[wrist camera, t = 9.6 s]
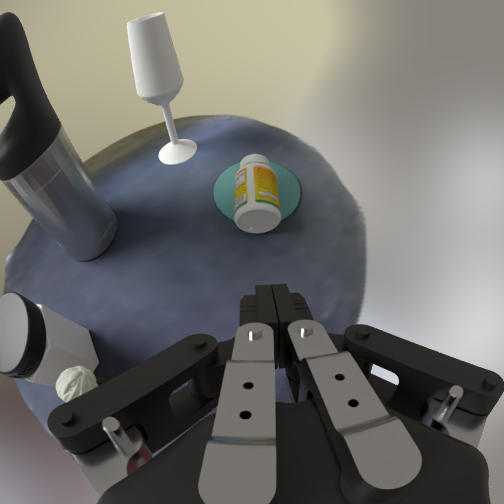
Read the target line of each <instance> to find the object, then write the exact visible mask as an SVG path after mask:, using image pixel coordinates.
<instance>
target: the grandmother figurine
mask: <svg viewBox="0 0 504 504" xmlns="http://www.w3.org/2000/svg"><path fill="white" fill-rule="evenodd" d="M109 380H111V379H107V378H104V377H99V376H95V375H94V374H93V372H92V371H91V370H89V369H87V368H85V367H83V366H76V367H73V368H68V369H66V370H64V371H63V372H62V373H61V375H60V376H59V378H58V380H57V382H56V390H57V393H58V396H59V397H60V398H61V399H62V400H63V401H65V402H68V401H70V400H72V399H74V398H76V397H78V396H80V395H82V394H84V393H86V392H88V391H90V390H92V389H94V388H96V387H98V386H99V385H101V384H103V383H105V382H107V381H109Z"/></svg>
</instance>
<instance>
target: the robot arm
mask: <svg viewBox="0 0 504 504" xmlns="http://www.w3.org/2000/svg"><path fill="white" fill-rule="evenodd" d="M10 96H13V97H14V98H15V102H16V104H15V108H14V111H13V113H12V115H11V117H10V119H9V121H8V123H7V125H6V127H5V128H4V130H3V131H2V133H1V134H0V180H1V181H2V183H3V184H4V185H5V186H6V188H7V189H8V190H9V191H10V192H11V194H12V195H13V196H14V197H15V198H16V199H17V201H18V202H19V203H20V204H21V205H22V206H23V207H24V209H25V210H26V211H27V212H28V213H29V214H30V215H31V216H32V217H33V218H34V220H35V221H36V222H37V223H38V224H39V225H40V226H41V227H42V228H43V229H44V230H45V231H46V232H47V233H48V234H49V235H50V236H51V237H52V238H53V239H54V240H55V241H56V242H57V243H58V244H59V245H60V246H61V247H62V248H63V249H64V250H65V251H66V252H67V253H68V254H69V255H70V256H71V257H72V258H74V259H75V260H78V261H87V260H91V259H93V258H95V257H97V256H99V255H100V254H101V253H103V252H104V251H105V250H106V249H107V248H108V246H109V245H110V244H111V242H112V240H113V238H114V237H115V234H116V231H117V218H116V215H115V214H114V212H113V211H112V209H111V208H110V206H109V205H108V203H107V201H106V200H105V198H104V197H103V195H102V193H101V192H100V190H99V189H98V187H97V185H96V184H95V182H94V181H93V179H92V177H91V176H90V174H89V172H88V171H87V169H86V167H85V166H84V164H83V162H82V161H81V159H80V157H79V155H78V154H77V152H76V150H75V148H74V146H73V145H72V143H71V141H70V139H69V137H68V136H67V134H66V132H65V130H64V128H63V126H62V124H61V122H60V121H59V119H58V117H57V115H56V113H55V111H54V109H53V108H52V106H51V104H50V102H49V100H48V98H47V95H46V93H45V91H44V89H43V87H42V84H41V81H40V79H39V76H38V73H37V70H36V67H35V64H34V61H33V58H32V55H31V51H30V48H29V44H28V41H27V38H26V35H25V31H24V29H23V27H22V24H21V22H20V20H19V19H18V17H17V16H16V15H15V14H13V13H10V12H7V13H4V14H2V15H0V104H2V103H3V102H4V101H5V100H6V99H8V97H10ZM255 289H256V295H245V296H244V297H243V298H242V299H241V301H240V327H239V328H238V330H237V332H236V336H235V337H234V338H232V339H230V340H227V341H224V342H219V343H217V340H216V339H215V338H214V337H212V336H210V335H207V334H194V335H190V336H188V337H186V338H184V339H182V340H181V341H179V342H177V343H175V344H174V345H172V346H170V347H169V348H167V349H165V350H163V351H162V352H160V353H158V354H156V355H154V356H153V357H151V358H149V359H147V360H146V361H144V362H142V363H140V364H138V365H137V366H135V367H133V368H131V369H129V370H127V371H126V372H124V373H122V374H120V375H118V376H116V377H115V378H113V379H111V380H109V381H107V382H105V383H103V384H101V385H99V386H98V387H96V388H94V389H92V390H90V391H88V392H86V393H84V394H82V395H80V396H78V397H76V398H74V399H72V400H70V401H68V402H66V403H64V404H62V405H60V406H58V407H57V408H55V409H54V410H53V411H52V412H51V413H50V415H49V417H48V427H49V430H50V431H51V432H52V433H53V435H54V436H55V437H56V439H57V440H58V441H59V442H60V443H61V446H62V447H63V449H64V450H65V451H66V452H67V453H68V454H69V455H70V457H71V458H72V459H73V460H74V461H75V462H76V463H77V464H78V465H79V466H80V468H81V469H82V471H83V472H84V474H85V475H86V476H87V478H88V479H89V481H90V482H91V484H92V485H93V486H94V487H95V489H96V490H97V492H98V493H99V494H100V495H101V497H100V499H99V500H98V503H97V504H491V503H490V498H489V487H488V479H489V478H488V477H489V470H488V465H487V462H486V459H485V458H484V456H483V454H482V453H481V452H480V451H479V450H478V449H477V446H478V443H479V440H480V437H481V435H482V432H483V428H484V425H485V422H486V418H487V417H488V415H489V414H490V412H491V411H492V409H493V408H494V406H495V405H496V403H497V402H498V400H499V398H500V396H501V395H502V393H503V392H504V381H503V379H502V378H501V377H500V376H499V375H498V374H497V373H495V372H493V371H490V370H487V369H484V368H481V367H478V366H475V365H473V364H470V363H467V362H464V361H461V360H458V359H456V358H453V357H450V356H447V355H445V354H442V353H439V352H437V351H434V350H431V349H429V348H426V347H423V346H421V345H418V344H415V343H413V342H410V341H407V340H405V339H402V338H399V337H397V336H394V335H392V334H389V333H387V332H384V331H382V330H379V329H376V328H374V327H371V326H368V325H362V324H357V325H352V326H350V327H348V328H347V329H346V330H345V334H344V335H337V334H330V333H326V331H325V329H324V328H323V326H322V325H321V324H320V323H318V322H316V321H314V319H313V317H312V315H311V312H310V310H309V308H308V305H307V304H306V301H305V298H304V297H303V296H301V295H300V294H299V293H290V292H289V290H288V287H287V284H272V285H255ZM373 364H375V365H377V366H379V367H382V368H384V369H386V370H389V371H391V372H393V373H395V374H396V375H397V376H398V378H399V384H398V385H395V384H393V383H391V382H389V381H386V380H384V379H382V378H380V377H378V376H376V375H373V374H371V369H372V366H373ZM278 365H279V368H285V369H286V385H287V388H288V392H289V395H290V398H291V402H292V403H282V402H275V369H277V366H278ZM187 381H188V383H189V384H188V385H187V386H185V387H184V388H183V389H181V390H180V391H178V392H177V393H175V394H174V395H172V396H171V397H169V396H170V394H171V393H172V392H173V391H174V390H175V389H177V388H178V387H180V386H181V385H183V384H184V383H186V382H187ZM217 405H218V407H217V412H216V413H215V414H212V415H210V416H208V417H206V418H204V419H203V420H201V421H199V420H200V419H201V418H203V417H204V416H205V415H206V414H208V413H209V412H210V411H211V410H213V409H214V408H215V407H216V406H217ZM197 421H199V422H198V423H197V424H195V423H196V422H197ZM194 424H195V425H194ZM192 425H194V426H193V427H192V428H191V429H189V430H188V431H187V432H186V433H184V434H183V435H182V436H181V437H179V438H178V439H177V440H176V441H174V442H173V443H172V444H171V445H169V446H168V447H167V448H165V449H164V450H163V451H161V452H160V453H159V454H157V455H156V456H155V457H153V456H152V454H154V453H155V452H156V451H158V450H159V449H161V448H162V447H164V446H165V445H166V444H168V443H169V442H171V441H172V440H173V439H175V438H176V437H178V436H179V435H180V434H182V433H183V432H184V431H186V430H187V429H188V428H190V427H191V426H192Z"/></svg>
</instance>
